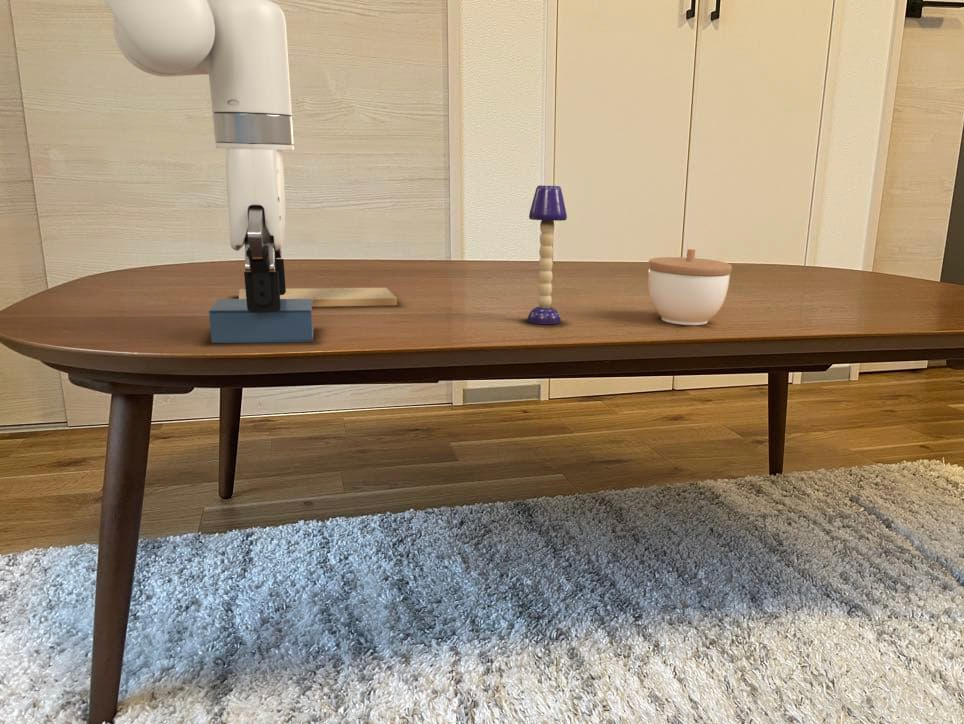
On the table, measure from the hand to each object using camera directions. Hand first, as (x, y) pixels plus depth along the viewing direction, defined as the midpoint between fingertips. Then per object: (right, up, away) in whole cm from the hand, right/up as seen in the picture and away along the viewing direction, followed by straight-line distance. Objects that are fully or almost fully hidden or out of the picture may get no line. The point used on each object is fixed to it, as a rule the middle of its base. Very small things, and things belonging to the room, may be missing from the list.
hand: (267, 302), depth 84 cm
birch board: (-1, +3, +22) cm, 22 cm away
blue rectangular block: (-1, -3, +1) cm, 4 cm away
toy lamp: (+30, 0, +15) cm, 34 cm away
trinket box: (+49, 0, +20) cm, 52 cm away
